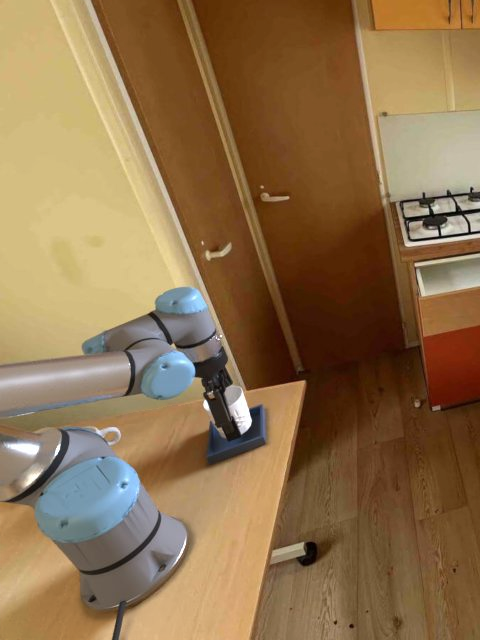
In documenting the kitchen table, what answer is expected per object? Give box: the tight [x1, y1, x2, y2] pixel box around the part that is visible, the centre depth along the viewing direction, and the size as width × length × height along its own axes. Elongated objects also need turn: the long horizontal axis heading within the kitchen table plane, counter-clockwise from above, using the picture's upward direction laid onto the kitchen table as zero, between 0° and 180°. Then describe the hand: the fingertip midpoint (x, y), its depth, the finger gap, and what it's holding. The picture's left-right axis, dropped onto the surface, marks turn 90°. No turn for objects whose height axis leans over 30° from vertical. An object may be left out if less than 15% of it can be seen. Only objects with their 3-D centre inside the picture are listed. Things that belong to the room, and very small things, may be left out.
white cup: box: [202, 384, 252, 439], centre depth 100 cm, size 8×8×10 cm
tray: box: [205, 403, 267, 465], centre depth 103 cm, size 12×12×2 cm
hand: (235, 425), depth 102 cm, fingers closed on white cup, 8 cm apart
